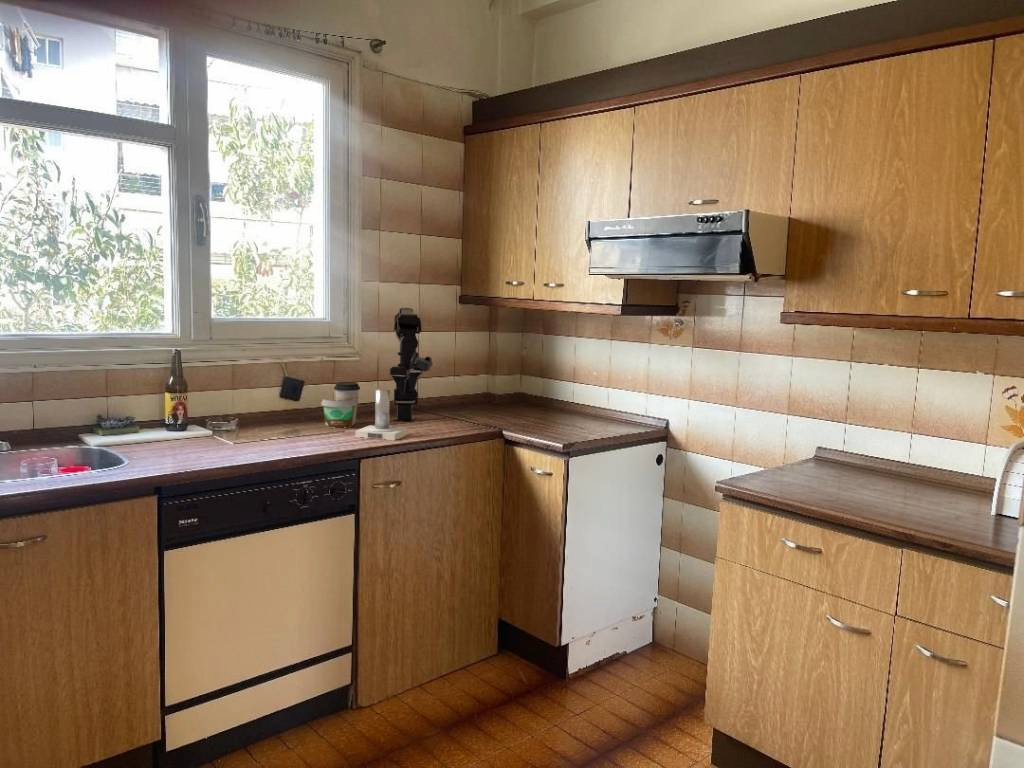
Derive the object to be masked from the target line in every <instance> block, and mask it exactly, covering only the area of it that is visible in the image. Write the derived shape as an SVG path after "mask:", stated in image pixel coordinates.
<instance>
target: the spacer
mask: <svg viewBox="0 0 1024 768" xmlns="http://www.w3.org/2000/svg"><path fill="white" fill-rule="evenodd" d="M390 390H391V389H389V388H388V389H387V388H380V389H379V388H378V389H374V393H375V394H374V426H375V428H376V429H388V428H389V426H390V398H391V397H390V393H391V392H390Z"/></svg>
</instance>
